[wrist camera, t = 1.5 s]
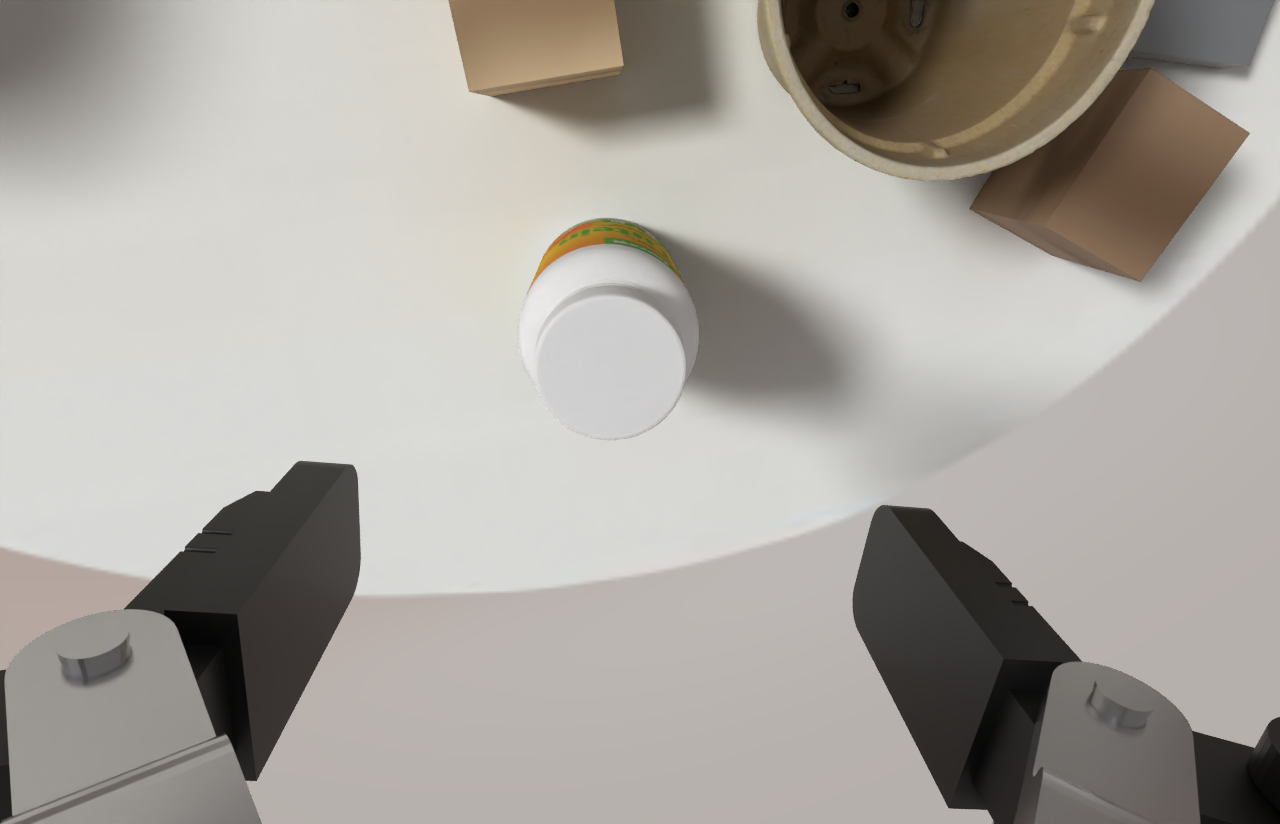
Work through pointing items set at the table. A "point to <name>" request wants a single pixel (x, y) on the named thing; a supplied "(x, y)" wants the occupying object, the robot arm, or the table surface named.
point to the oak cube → (535, 43)
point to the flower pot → (946, 75)
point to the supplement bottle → (608, 330)
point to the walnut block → (1116, 176)
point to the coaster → (1203, 32)
